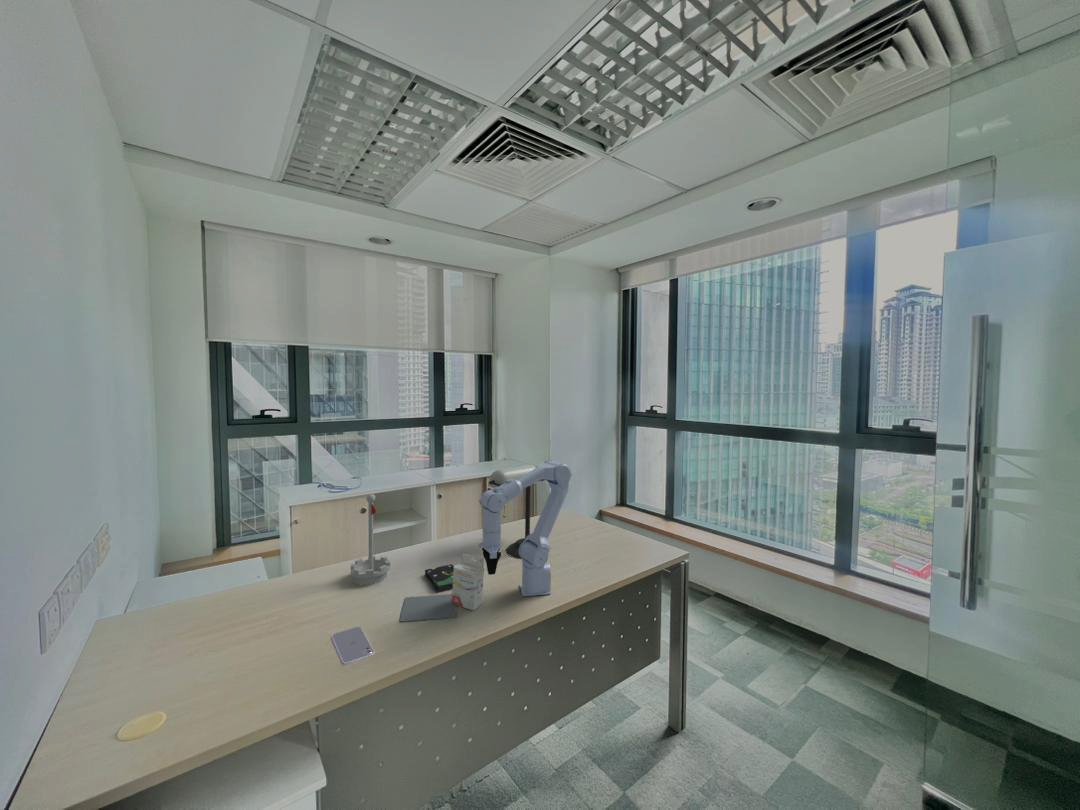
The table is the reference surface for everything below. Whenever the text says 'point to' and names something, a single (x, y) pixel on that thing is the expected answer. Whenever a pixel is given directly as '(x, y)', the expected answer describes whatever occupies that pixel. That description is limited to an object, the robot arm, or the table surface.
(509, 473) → the lamp
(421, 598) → the mat
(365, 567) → the flag stand
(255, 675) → the table surface
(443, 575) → the disk drive
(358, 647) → the mobile phone
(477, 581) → the ink cartridge box
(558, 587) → the table surface
